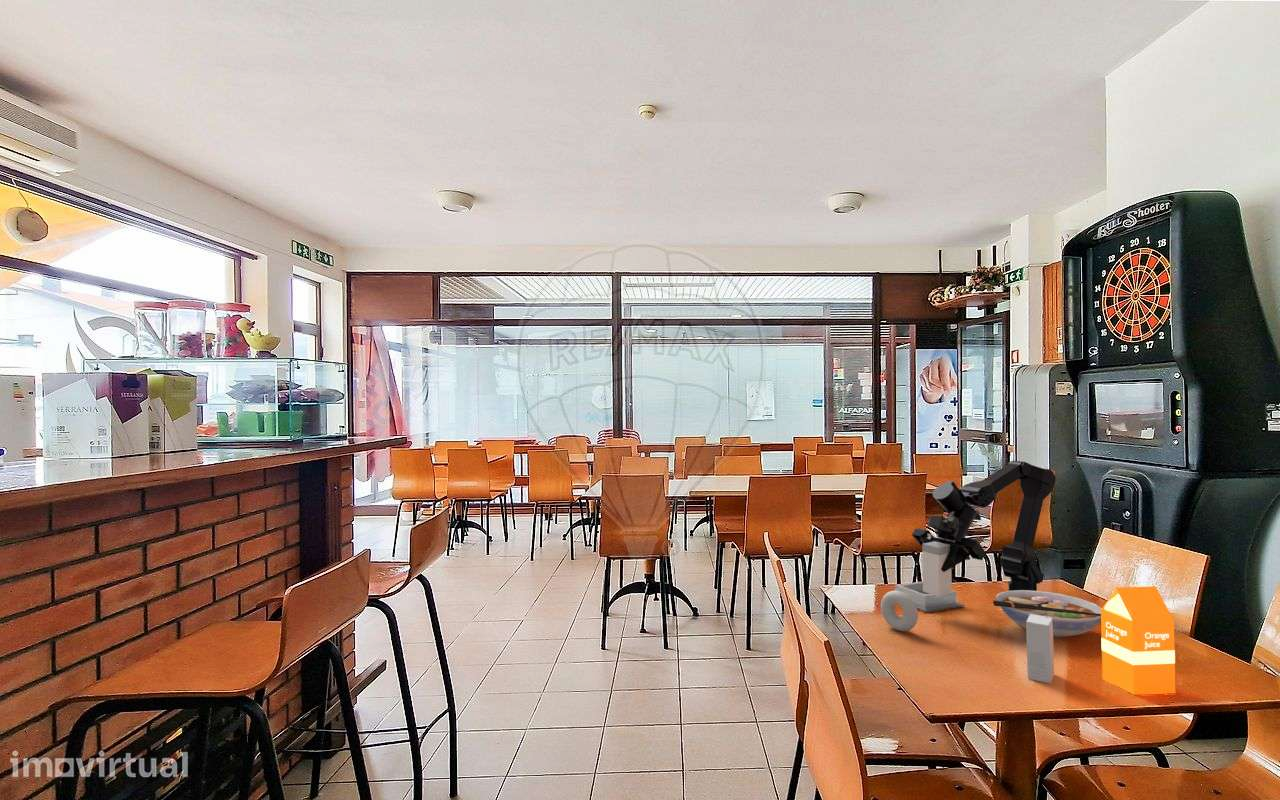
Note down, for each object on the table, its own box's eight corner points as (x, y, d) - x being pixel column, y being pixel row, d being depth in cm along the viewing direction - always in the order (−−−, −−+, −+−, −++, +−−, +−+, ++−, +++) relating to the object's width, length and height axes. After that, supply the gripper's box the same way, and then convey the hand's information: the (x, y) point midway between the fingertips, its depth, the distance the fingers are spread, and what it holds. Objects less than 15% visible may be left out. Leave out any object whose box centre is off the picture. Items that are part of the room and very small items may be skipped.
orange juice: (1101, 678, 127) (1099, 582, 128) (1141, 677, 128) (1139, 580, 128) (1134, 696, 120) (1132, 593, 120) (1176, 694, 120) (1174, 592, 120)
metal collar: (925, 592, 185) (925, 581, 185) (956, 603, 174) (956, 591, 174) (895, 597, 181) (895, 585, 181) (925, 608, 170) (925, 596, 170)
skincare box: (1030, 669, 132) (1029, 613, 132) (1054, 674, 130) (1053, 617, 130) (1026, 678, 128) (1025, 621, 128) (1051, 684, 125) (1050, 625, 125)
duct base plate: (925, 593, 187) (925, 591, 187) (963, 606, 174) (963, 604, 174) (888, 598, 182) (888, 596, 182) (925, 612, 169) (925, 610, 169)
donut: (878, 625, 159) (877, 587, 159) (886, 623, 161) (885, 585, 161) (912, 638, 151) (912, 597, 151) (921, 635, 152) (920, 594, 153)
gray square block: (935, 588, 169) (934, 541, 169) (951, 593, 165) (951, 545, 164) (922, 591, 167) (922, 543, 166) (939, 596, 162) (938, 547, 162)
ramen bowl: (1097, 624, 158) (1097, 593, 158) (1124, 658, 138) (1123, 621, 138) (987, 612, 169) (986, 582, 169) (996, 641, 148) (995, 607, 148)
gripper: (915, 499, 176) (889, 543, 171) (977, 509, 159) (950, 557, 154) (934, 524, 179) (909, 567, 174) (996, 535, 163) (971, 583, 158)
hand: (933, 568), depth 165 cm, fingers closed on gray square block, 5 cm apart
